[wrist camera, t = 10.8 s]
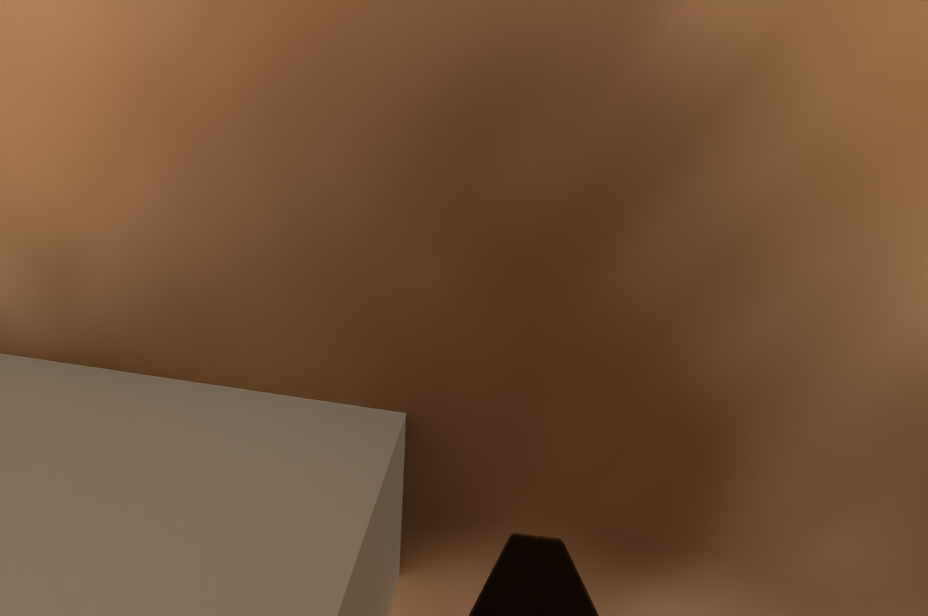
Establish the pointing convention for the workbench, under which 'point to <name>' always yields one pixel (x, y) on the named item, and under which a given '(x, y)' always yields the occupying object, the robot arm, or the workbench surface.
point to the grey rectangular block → (192, 498)
